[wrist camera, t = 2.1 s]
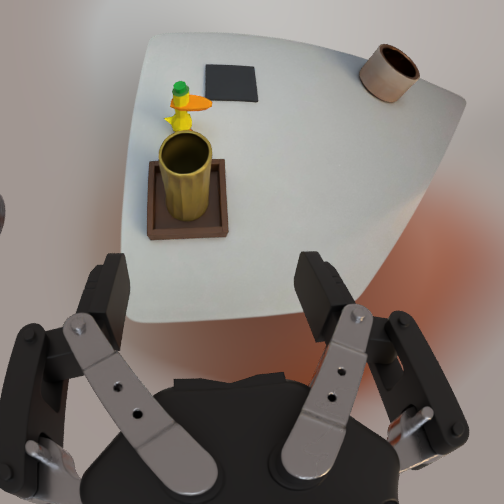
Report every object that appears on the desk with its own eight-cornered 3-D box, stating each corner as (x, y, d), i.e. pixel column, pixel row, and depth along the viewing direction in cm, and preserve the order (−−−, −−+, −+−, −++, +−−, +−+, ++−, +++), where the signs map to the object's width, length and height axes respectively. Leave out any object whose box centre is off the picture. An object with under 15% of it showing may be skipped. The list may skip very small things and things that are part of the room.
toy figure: (208, 127, 43) (215, 77, 31) (206, 146, 42) (212, 97, 31) (167, 125, 42) (162, 75, 30) (163, 143, 41) (157, 95, 29)
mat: (205, 100, 44) (205, 98, 43) (205, 66, 45) (206, 64, 45) (257, 102, 45) (258, 100, 45) (253, 68, 47) (254, 66, 46)
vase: (164, 222, 39) (150, 181, 25) (166, 181, 40) (156, 126, 26) (208, 221, 40) (216, 181, 26) (208, 181, 41) (217, 126, 27)
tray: (150, 240, 38) (146, 235, 35) (151, 170, 40) (149, 161, 37) (226, 237, 40) (228, 232, 38) (222, 168, 42) (224, 158, 39)
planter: (365, 97, 51) (388, 71, 42) (352, 63, 53) (371, 37, 44) (403, 108, 53) (427, 86, 44) (389, 74, 55) (409, 52, 46)
